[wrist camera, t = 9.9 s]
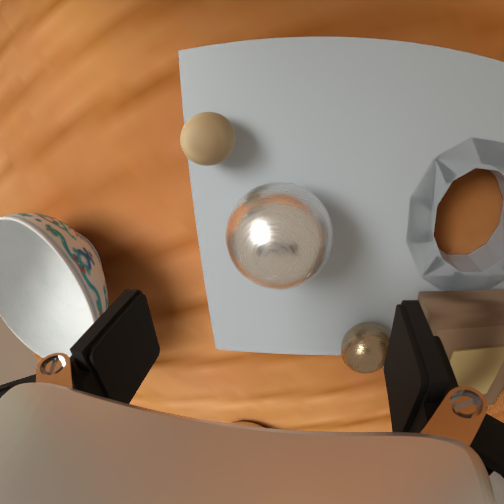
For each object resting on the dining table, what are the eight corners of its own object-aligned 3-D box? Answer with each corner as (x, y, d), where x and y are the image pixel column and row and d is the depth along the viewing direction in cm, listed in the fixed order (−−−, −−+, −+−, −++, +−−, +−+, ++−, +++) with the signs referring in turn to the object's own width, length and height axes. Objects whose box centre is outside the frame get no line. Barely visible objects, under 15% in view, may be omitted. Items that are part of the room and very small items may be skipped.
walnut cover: (397, 375, 24) (405, 417, 20) (418, 291, 21) (436, 331, 17) (479, 368, 23) (494, 404, 19) (510, 288, 19) (536, 322, 15)
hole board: (224, 327, 29) (216, 349, 27) (194, 56, 20) (178, 50, 17) (504, 325, 24) (515, 343, 21) (542, 82, 15) (563, 83, 12)
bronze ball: (337, 349, 25) (339, 384, 21) (342, 311, 23) (344, 345, 20) (383, 349, 24) (389, 383, 20) (391, 311, 22) (400, 344, 19)
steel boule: (242, 259, 23) (219, 309, 17) (234, 173, 20) (205, 199, 15) (329, 260, 22) (333, 313, 16) (330, 172, 19) (338, 198, 14)
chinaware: (103, 342, 34) (69, 386, 27) (17, 256, 31) (-26, 287, 25) (168, 266, 28) (126, 318, 21) (56, 157, 25) (-5, 179, 18)
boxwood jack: (194, 162, 20) (175, 172, 17) (189, 114, 19) (168, 116, 16) (242, 159, 20) (230, 168, 17) (238, 109, 18) (225, 109, 16)
